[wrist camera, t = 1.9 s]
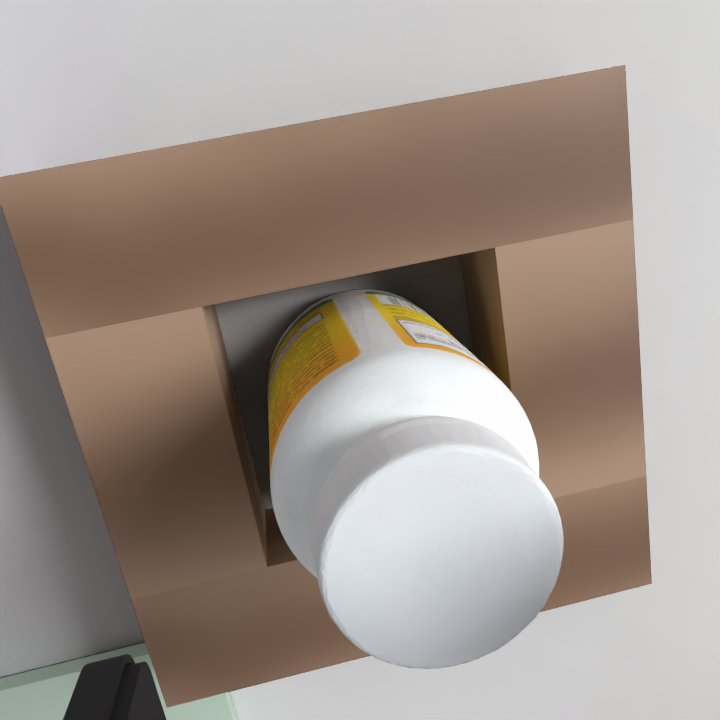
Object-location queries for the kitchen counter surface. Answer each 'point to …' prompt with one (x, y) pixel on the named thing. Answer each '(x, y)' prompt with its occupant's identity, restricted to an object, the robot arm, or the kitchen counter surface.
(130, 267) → the block
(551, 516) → the supplement bottle
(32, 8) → the kitchen counter surface
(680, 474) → the kitchen counter surface
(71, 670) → the place mat
